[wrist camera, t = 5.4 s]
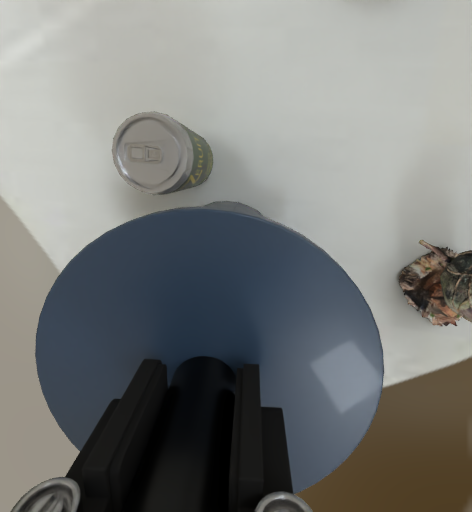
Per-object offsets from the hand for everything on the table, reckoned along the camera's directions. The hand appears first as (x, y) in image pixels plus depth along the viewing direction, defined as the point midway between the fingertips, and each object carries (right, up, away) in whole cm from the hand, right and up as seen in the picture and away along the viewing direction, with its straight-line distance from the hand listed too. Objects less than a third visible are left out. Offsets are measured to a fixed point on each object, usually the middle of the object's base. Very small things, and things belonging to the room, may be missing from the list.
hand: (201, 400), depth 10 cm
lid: (0, 0, +1) cm, 1 cm away
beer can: (-4, +15, +21) cm, 26 cm away
